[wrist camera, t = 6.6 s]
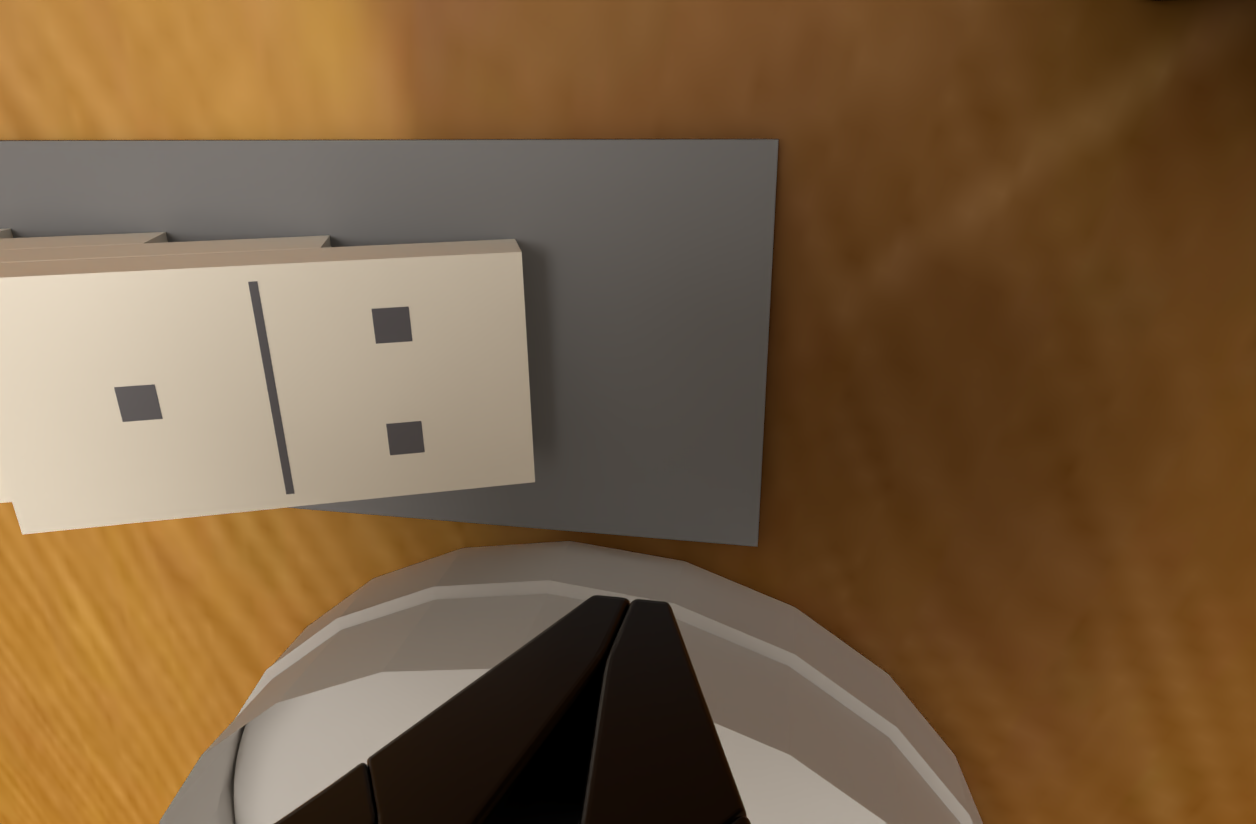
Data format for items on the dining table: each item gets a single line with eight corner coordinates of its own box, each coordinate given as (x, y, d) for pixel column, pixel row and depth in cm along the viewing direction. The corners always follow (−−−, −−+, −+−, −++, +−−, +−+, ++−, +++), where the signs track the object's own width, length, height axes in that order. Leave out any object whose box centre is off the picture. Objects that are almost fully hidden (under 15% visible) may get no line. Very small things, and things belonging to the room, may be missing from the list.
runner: (778, 139, 16) (778, 139, 16) (758, 540, 20) (757, 546, 19) (-107, 140, 20) (-120, 141, 20) (0, 478, 23) (-10, 482, 23)
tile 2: (320, 247, 17) (-258, 274, 15) (352, 469, 19) (-161, 518, 17) (329, 235, 18) (-196, 257, 17) (358, 441, 20) (-112, 484, 18)
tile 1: (521, 252, 16) (-59, 280, 14) (535, 482, 18) (22, 534, 16) (514, 238, 18) (-12, 263, 16) (527, 452, 20) (57, 497, 18)
